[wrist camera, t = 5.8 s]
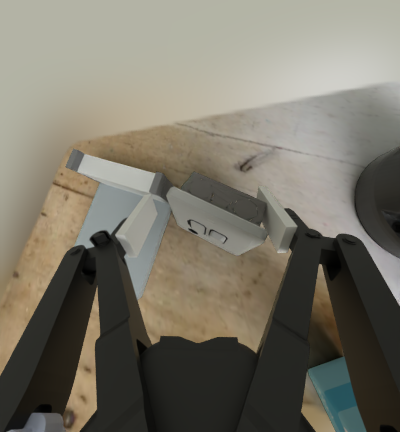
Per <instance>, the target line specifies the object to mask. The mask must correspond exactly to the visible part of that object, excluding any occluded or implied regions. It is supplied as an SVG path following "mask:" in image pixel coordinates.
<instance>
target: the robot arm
mask: <svg viewBox="0 0 400 432" xmlns="http://www.w3.org/2000/svg"><path fill="white" fill-rule="evenodd" d="M257 199H259V200H261V201H263V202H266V203H267V205H266V208H265V210H264V213H263V220H262V223H263V225H264V227H265V229H266V230H267V233H268V235H269V237H270V239H271V241H272V243H273V245H274V247H275V249H276V251H277V253H287V252H288V250H289V248H290V249H291V251H292V253H291V255H290V257H289V260H288V264H287V267H286V270H285V273H284V276H283V278H282V281H281V284H280V287H279V290H278V293H277V296H276V299H275V302H274V305H273V308H272V311H271V313H270V316H269V319H268V322H267V325H266V328H265V331H264V334H263V337H262V339H261V342H260V344H259V347H258V350H257V353H255V352H254V351H253V350H251V349H250V348H248V347H247V346H245V345H243V344H241V343H238V339H237V337H217V338H214V339H211V340H208V341H205V342H201V343H195V342H192V341H189V340H187V339H184V338H182V337H179V336H161V337H160V342H157V343H155V344H153V345H152V344H151V341H150V339H149V337H148V335H147V332H146V329H145V325H144V322H143V318H142V315H141V311H140V308H139V304H138V301H137V297H136V294H135V290H134V287H133V283H132V280H131V276H130V273H129V270H128V266H127V263H126V259H125V258H124V256H125V255H126V254H127V255H128V257H129V258H134V257H138V254H139V252H140V250H141V248H142V246H143V244H144V242H145V240H146V238H147V235H148V233H149V231H150V229H151V227H152V225H153V223H154V221H155V218H156V216H157V214H158V213H157V210H156V207H155V204H154V201H153V198H152V195H151V194H147V195H144V196H143V198H142V199H141V200H140V202H139V203H138V205H137V206H136V207H135V209H134V210H133V211H132V213H131V214H130V215H129V217H128V218H125V219H123V220H122V221H121V222H120V223H119V224H118V226H117V227H116V229H115V230H114V231H113V232H112V233H111V235H110V234H109V232H108V231H107V230H101V231H98V232H96V233H94V234H93V235H92V236H91V237H90V239H89V240H90V241H91V243H92V244H93V245H94V247H91V248H87V249H86V247H85V246H84V245H78V246H75V247H73V248H71V249H70V250H69V251H67V253H66V254H65V256H64V257H63V259H62V261H61V263H60V265H59V267H58V269H57V271H56V272H55V274H54V276H53V278H52V280H51V282H50V284H49V286H48V288H47V289H46V291H45V293H44V295H43V297H42V299H41V301H40V303H39V304H38V306H37V308H36V310H35V312H34V314H33V316H32V318H31V319H30V321H29V323H28V325H27V327H26V329H25V331H24V333H23V334H22V336H21V338H20V340H19V342H18V344H17V346H16V348H15V350H14V351H13V353H12V355H11V357H10V359H9V361H8V363H7V365H6V366H5V368H4V370H3V372H2V374H1V376H0V432H66V430H65V427H63V418H62V416H63V413H64V411H65V408H66V405H67V402H68V399H69V397H70V394H71V390H72V387H73V383H74V380H75V375H76V371H77V367H78V363H79V359H80V355H81V351H82V346H83V342H84V338H85V334H86V330H87V326H88V321H89V317H90V313H91V309H92V305H93V301H94V296H95V292H96V288H97V287H98V302H99V317H100V337H99V338H98V339H97V340H96V343H95V362H96V390H97V410H96V411H95V413H94V414H93V415H92V416H91V418H90V419H89V420H88V422H87V423H86V424H85V425H84V427H83V428H82V429H81V430H80V432H316V431H315V430H314V429H313V427H312V426H311V425H310V423H309V422H308V421H307V420H306V418H305V417H304V416H303V414H302V413H301V409H302V402H303V395H304V388H305V380H306V373H307V366H308V359H309V350H310V346H309V342H308V340H307V336H308V330H309V323H310V317H311V311H312V304H313V298H314V292H315V285H316V279H317V273H318V266H319V264H322V267H323V271H324V275H325V279H326V283H327V287H328V292H329V296H330V300H331V304H332V308H333V312H334V316H335V320H336V324H337V328H338V332H339V336H340V340H341V344H342V349H343V353H344V357H345V361H346V365H347V369H348V373H349V377H350V381H351V385H352V389H353V393H354V396H355V400H356V403H357V407H358V410H359V413H360V415H361V418H362V421H363V423H364V426H365V429H366V432H400V306H399V304H398V303H397V301H396V299H395V297H394V296H393V294H392V292H391V290H390V289H389V287H388V285H387V284H386V282H385V280H384V278H383V277H382V275H381V273H380V271H379V270H378V268H377V266H376V264H375V263H374V261H373V259H372V257H371V256H370V254H369V252H368V251H367V249H366V247H365V245H364V244H363V242H362V241H361V240H360V239H358V238H357V237H354V236H352V235H348V234H338V235H337V236H336V238H329V237H324V236H322V235H321V233H319V232H318V231H316V230H313V229H309V228H308V227H307V226H306V225H305V224H304V222H303V221H302V220H301V219H300V218H299V217H298V216H297V214H296V213H295V212H294V211H292V210H291V209H289V208H285V209H283V207H282V206H281V205H280V203H279V202H278V201H277V200H276V198H275V197H274V196H273V195H272V193H271V192H270V191H269V190H268V188H267V187H266V186H261V187H258V193H257ZM355 204H356V209H357V213H358V216H359V218H360V221H361V223H362V225H363V226H364V228H365V230H366V231H367V232H368V234H369V235H370V236H371V237H372V238H373V239H374V240H375V241H376V242H377V243H378V244H379V245H380V246H381V247H382V248H384V249H385V250H386V251H388V252H389V253H391V254H393V255H395V256H396V257H398V258H400V147H398V148H396V149H394V150H392V151H390V152H388V153H386V154H384V155H382V156H380V157H378V158H377V159H375V160H374V161H373V162H371V163H370V164H369V165H368V166H367V167H366V169H365V170H364V171H363V173H362V174H361V176H360V178H359V180H358V183H357V187H356V192H355Z"/></svg>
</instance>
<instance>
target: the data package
mask: <svg viewBox="0 0 400 432" xmlns="http://www.w3.org/2000/svg"><path fill="white" fill-rule="evenodd" d="M308 373H309V376H310V378H311V380H312V382H313V384H314V386H315V389H316V391H317V393H318V395H319V397H320V399H321V401H322V404H323V406H324V408H325V410H326V412H327V414H328V416H329V418H330V421H331V423H332V425H333V427H334V429H335V431H336V432H366V429H365V426H364V423H363V421H362V418H361V415H360V413H359V410H358V407H357V403H356V400H355V396H354V393H353V389H352V385H351V381H350V377H349V373H348V369H347V365H346V361H345V357H341V358H338V359H335V360H332V361H330V362H327V363H324V364H321V365H318V366H316V367H313V368H310V369H309V370H308Z"/></svg>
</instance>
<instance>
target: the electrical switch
mask: <svg viewBox="0 0 400 432" xmlns="http://www.w3.org/2000/svg"><path fill="white" fill-rule="evenodd" d="M200 179H203V180H200ZM212 194H214V196H213V197H212V198H211V196H212ZM166 197H167V199H168V202H169V204H170V207H171V209H172V212H173V215H174V217H175V220H176V222H177V225H178V226H180V227H181V228H183V229H185V230H187V231H189V232H190V233H192V234H194V235H196V236H198V237H200V238H202V239H204V240H206V241H208V242H210V243H212V244H214V245H216V246H218V247H220V248H221V249H223V250H225V251H227V252H229V253H231V254H233V255H236V256H239V255H240V254H242V253H244V252H246V251H249V250H251V249H253V248H255V247H257V246H259V245H261V244H263V243H264V241H265V239H266V237H267V230H266V229H263V228H261V227H260V224H261V222H262V220H263V213H264V210H265V208H266V205H267V203H266V202H263V201H261V200H259V199H256V198H254V197H252V196H250V195H247V194H245V193H243V192H240V191H238V190H236V189H233V188H231V187H229V186H226V185H224V184H222V183H220V182H217V181H215V180H213V179H210V178H208V177H206V176H203V175H201V174H199V173H196V172H193V173H192V174H191V176H190V177H189V179H188V181H186V182H185V183H184V184H183V186H182V187H181V189H178V188H176V187H172V188H170V190H169V191H168V193H167V195H166ZM249 199H250V200H249ZM211 201H213V202H211ZM236 201H237V202H236ZM231 202H232V203H231ZM235 202H236V203H235ZM230 203H231V205H230ZM234 211H235V212H234ZM251 219H252V220H251ZM249 220H251V221H249Z"/></svg>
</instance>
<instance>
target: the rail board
mask: <svg viewBox="0 0 400 432" xmlns="http://www.w3.org/2000/svg"><path fill="white" fill-rule="evenodd" d="M66 167H67V168H69V169H71V170H73V171H75V172H77V173H80V174H82V175H84V176H86V177H88V178H91V179H93V180H95V181H97V182H99V183H100V184H99V187H98V189H97V192H96V194H95V196H94V199H93V201H92V204H91V206H90V209H89V211H88V214H87V216H86V219H85V221H84V223H83V226H82V228H81V231H80V233H79V236H78V238H77V241H76V243H75V246H78V245H84V246H85V247H86V249H87V248H91V247H94V245H93V244H92V243H91V241H90V240H89V239H90V237H91V236H92V235H93V234H94V233H96V232H98V231H101V230H107V231H108V232H109V234H110V235H111V233H112V232H113V231H114V230H115V229H116V227H117V226H118V224H119V223H120V222H121V221H122V220H123V219H125V218H128V217H129V215H130V214H131V213H132V211H133V210H134V209H135V207H136V206H137V205H138V203H139V202H140V200H141V199H142V198H143V196H144V195H147V194H151V195H152V198H153V201H154V204H155V207H156V210H157V213H158V214H157V216H156V218H155V221H154V223H153V225H152V227H151V229H150V231H149V233H148V235H147V238H146V240H145V242H144V244H143V246H142V248H141V250H140V252H139V254H138V257H134V258H129V257H128V255H127V254H126V255H125V256H124V258H125V259H126V263H127V266H128V270H129V273H130V276H131V280H132V283H133V287H134V290H135V294H136V297H137V300H138V299H140V298H141V297H142V295H143V292H144V289H145V286H146V283H147V280H148V278H149V275H150V272H151V269H152V266H153V263H154V260H155V257H156V254H157V252H158V249H159V246H160V243H161V240H162V237H163V234H164V231H165V229H166V226H167V223H168V220H169V217H170V214H171V211H172V209H171V207H170V204H169V202H168V199H167V197H166V195H167V193H168V191H169V190H170V188H172V187H174V186H173V184H172V183H171V182H170V181H169V180H168V179H167V177H166V176H165V175H164V174H163V173H160V172H156V174H155V173H152V172H148V171H144V170H141V169H137V168H134V167H130V166H126V165H123V164H119V163H115V162H112V161H108V160H104V159H101V158H97V157H94V156H90V155H86V154H84V153H82V152H81V151H79V150H76V149H73V151H72V153H71V155H70V157H69V160H68V162H67V164H66ZM75 246H74V247H75Z"/></svg>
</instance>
